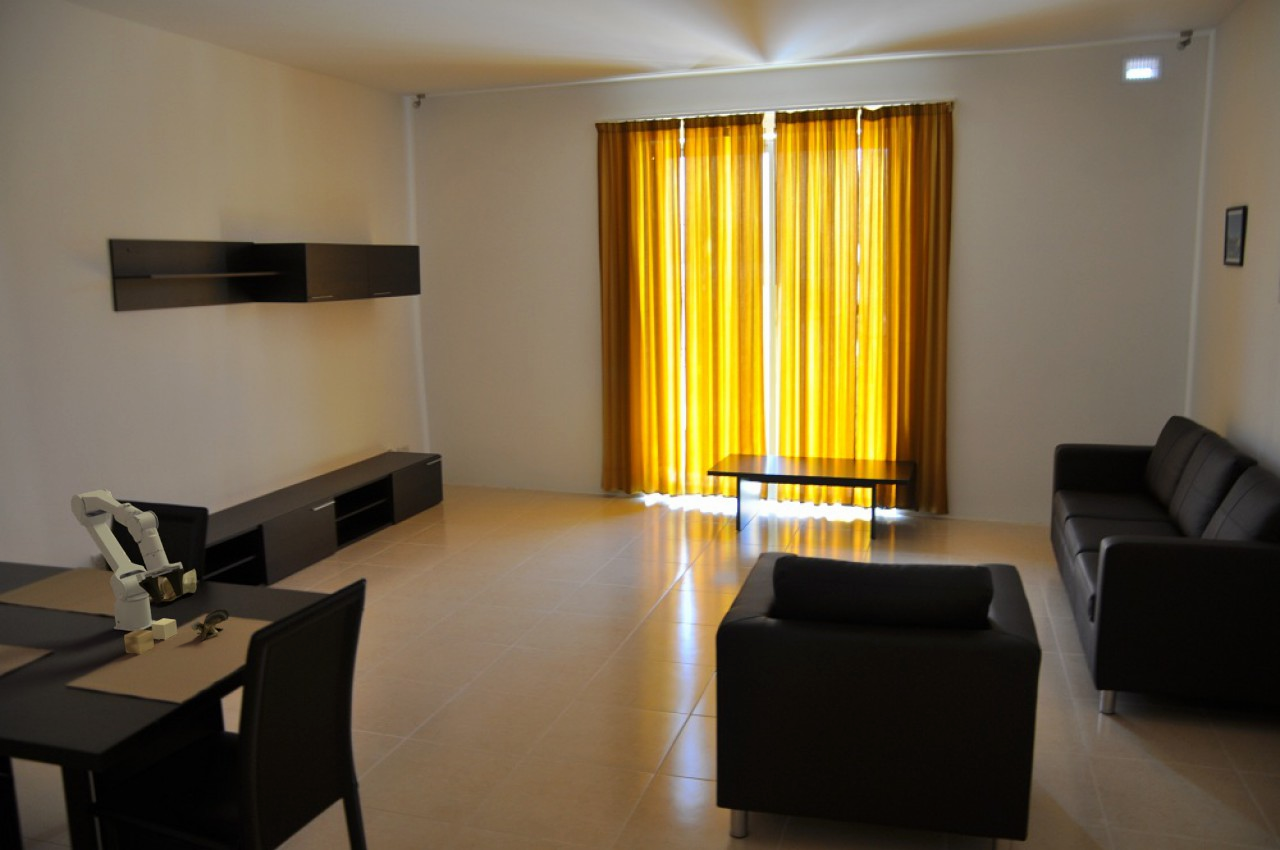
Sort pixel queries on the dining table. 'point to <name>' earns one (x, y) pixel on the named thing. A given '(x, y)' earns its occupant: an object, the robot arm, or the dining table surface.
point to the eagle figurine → (211, 622)
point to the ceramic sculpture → (188, 586)
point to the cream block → (164, 628)
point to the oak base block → (139, 641)
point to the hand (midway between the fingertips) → (169, 599)
